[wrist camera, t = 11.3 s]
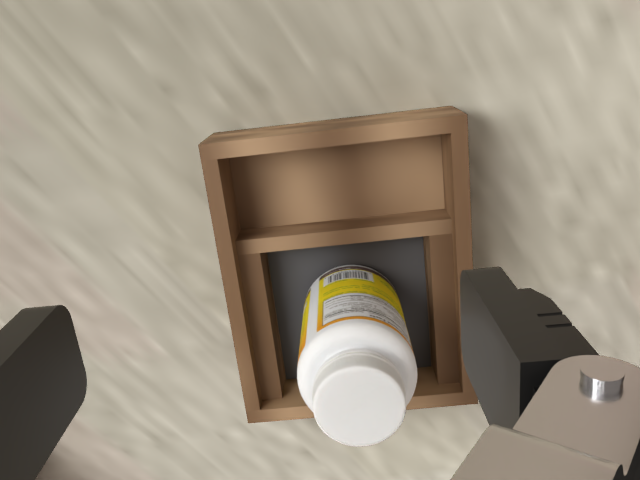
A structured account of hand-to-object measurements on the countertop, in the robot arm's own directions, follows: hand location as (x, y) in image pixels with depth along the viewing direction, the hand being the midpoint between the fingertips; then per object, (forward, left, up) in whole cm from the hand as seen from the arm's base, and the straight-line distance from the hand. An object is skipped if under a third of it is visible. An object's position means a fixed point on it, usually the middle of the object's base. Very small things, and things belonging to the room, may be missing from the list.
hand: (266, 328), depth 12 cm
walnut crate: (+1, -7, -22) cm, 23 cm away
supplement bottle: (+1, -9, -21) cm, 23 cm away
